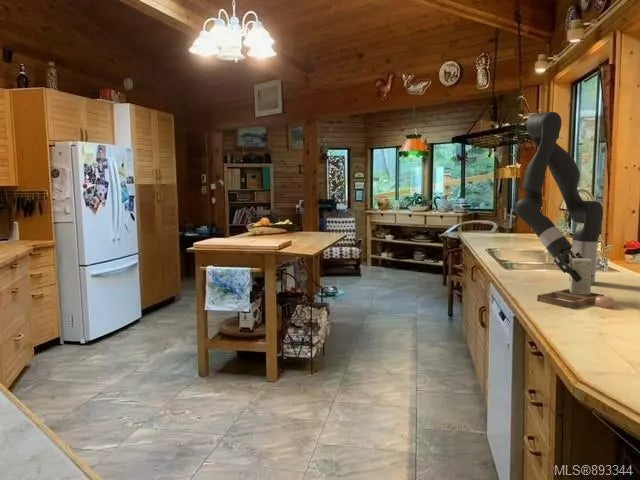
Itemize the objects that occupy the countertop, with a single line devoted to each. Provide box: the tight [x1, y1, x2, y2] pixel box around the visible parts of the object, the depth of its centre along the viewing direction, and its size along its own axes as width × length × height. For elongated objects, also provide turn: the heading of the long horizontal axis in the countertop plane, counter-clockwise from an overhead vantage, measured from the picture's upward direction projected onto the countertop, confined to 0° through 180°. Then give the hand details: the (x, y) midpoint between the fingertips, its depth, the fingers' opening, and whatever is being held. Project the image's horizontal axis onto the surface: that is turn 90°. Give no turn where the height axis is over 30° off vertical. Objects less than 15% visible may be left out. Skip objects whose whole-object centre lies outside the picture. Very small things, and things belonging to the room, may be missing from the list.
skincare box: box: [569, 258, 592, 294], centre depth 174 cm, size 6×4×12 cm
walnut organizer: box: [536, 287, 605, 310], centre depth 171 cm, size 21×12×2 cm, turn 125°
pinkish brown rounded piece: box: [594, 295, 614, 309], centre depth 164 cm, size 5×5×3 cm
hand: (584, 279), depth 173 cm, fingers closed on skincare box, 7 cm apart
